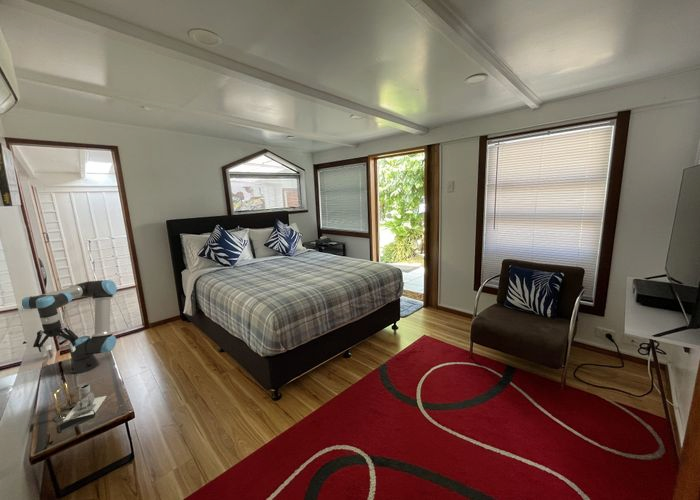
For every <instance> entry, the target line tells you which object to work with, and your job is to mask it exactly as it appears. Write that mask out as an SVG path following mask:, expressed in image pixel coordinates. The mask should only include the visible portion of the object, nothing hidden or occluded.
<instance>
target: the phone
mask: <svg viewBox="0 0 700 500" xmlns="http://www.w3.org/2000/svg"><path fill="white" fill-rule="evenodd" d="M91 411H92V410H91ZM93 411H94V410H93ZM88 412H89V411H88ZM86 413H87V412H86ZM84 414H85V413H84ZM79 416H80V415H79ZM96 416H97V414H96V412H94V414H91V415H87V416H82V417H78V416H77V417H78V418H76V417H75V418H73V419H70V420H68V421H64V422H61V423H60V424H58V425H57V428H58V433H59V434H62V433H64V432H66V431H68V430H70V429H72V428H75V427H78V426H79V425H81V424H83V423H86V422H88V421H90V420H92V419H94V418H96Z"/></svg>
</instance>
